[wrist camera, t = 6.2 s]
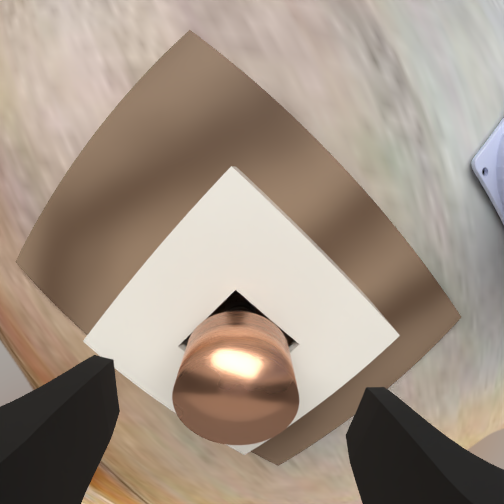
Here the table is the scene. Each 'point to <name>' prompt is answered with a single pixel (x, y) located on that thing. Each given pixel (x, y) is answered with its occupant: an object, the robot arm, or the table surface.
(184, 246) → the hollow square block
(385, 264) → the board
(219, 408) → the plunger
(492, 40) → the table surface
